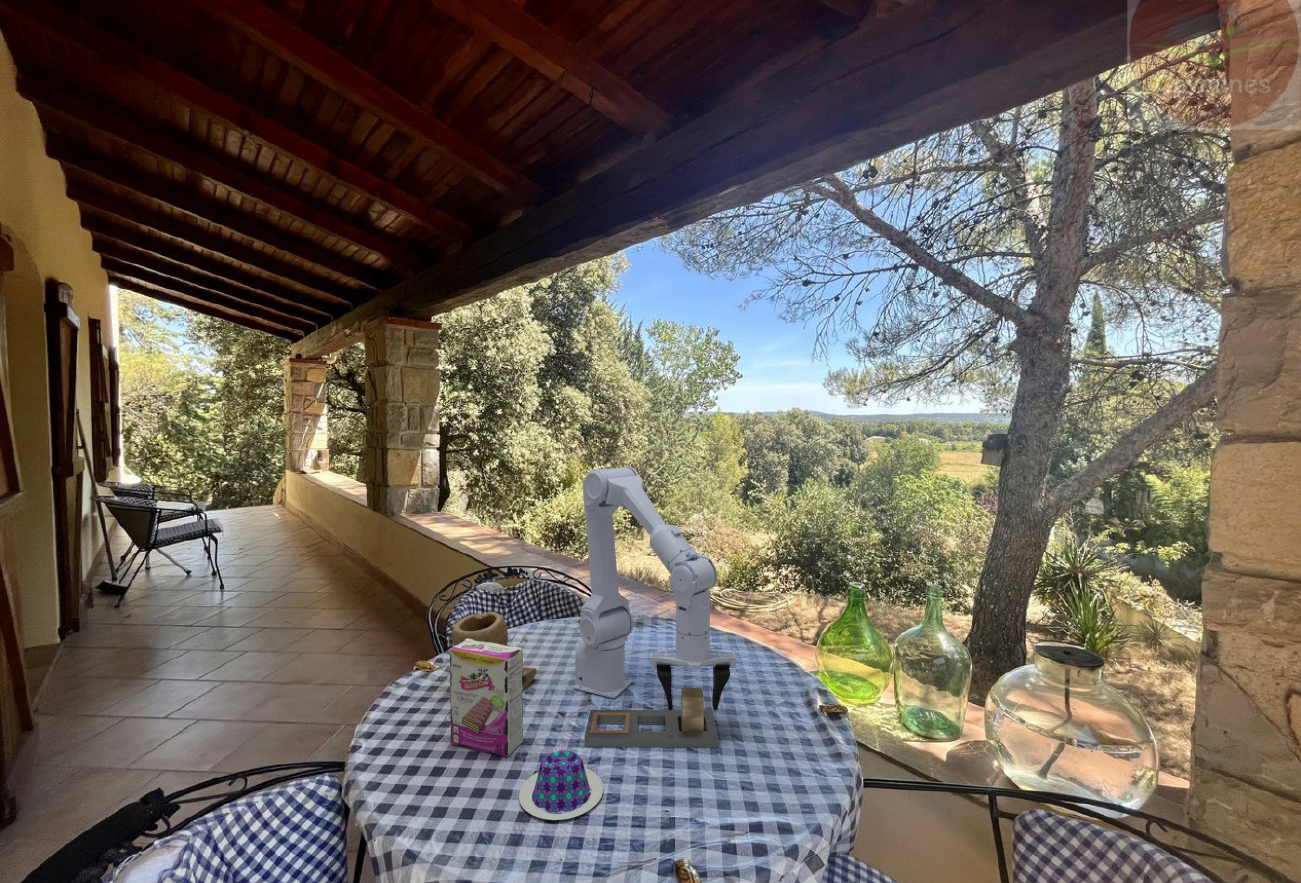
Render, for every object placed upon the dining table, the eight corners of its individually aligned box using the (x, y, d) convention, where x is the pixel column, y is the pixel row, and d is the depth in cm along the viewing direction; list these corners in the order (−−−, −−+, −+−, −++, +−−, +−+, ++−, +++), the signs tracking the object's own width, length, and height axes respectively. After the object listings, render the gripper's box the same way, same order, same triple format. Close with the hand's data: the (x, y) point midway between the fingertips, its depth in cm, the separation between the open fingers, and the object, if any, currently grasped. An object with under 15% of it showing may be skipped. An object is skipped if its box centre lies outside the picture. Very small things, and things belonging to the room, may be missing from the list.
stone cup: (439, 701, 109) (438, 623, 109) (469, 673, 121) (468, 603, 120) (515, 708, 107) (514, 629, 106) (538, 679, 119) (537, 607, 118)
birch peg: (682, 738, 97) (682, 697, 97) (681, 726, 101) (681, 687, 101) (703, 738, 97) (703, 698, 97) (701, 726, 101) (701, 687, 101)
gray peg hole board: (584, 746, 95) (584, 736, 95) (590, 717, 104) (590, 708, 104) (718, 747, 95) (718, 737, 95) (712, 718, 104) (712, 709, 104)
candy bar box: (448, 746, 95) (447, 648, 94) (467, 730, 99) (466, 637, 99) (507, 759, 91) (506, 658, 90) (524, 742, 96) (523, 646, 95)
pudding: (601, 767, 90) (601, 734, 90) (605, 821, 78) (605, 783, 78) (522, 773, 88) (522, 739, 88) (515, 829, 76) (514, 791, 76)
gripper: (650, 638, 94) (650, 719, 95) (739, 638, 94) (738, 719, 95) (650, 622, 101) (650, 698, 102) (733, 623, 101) (732, 698, 102)
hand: (692, 707), depth 99 cm, fingers open, 7 cm apart
